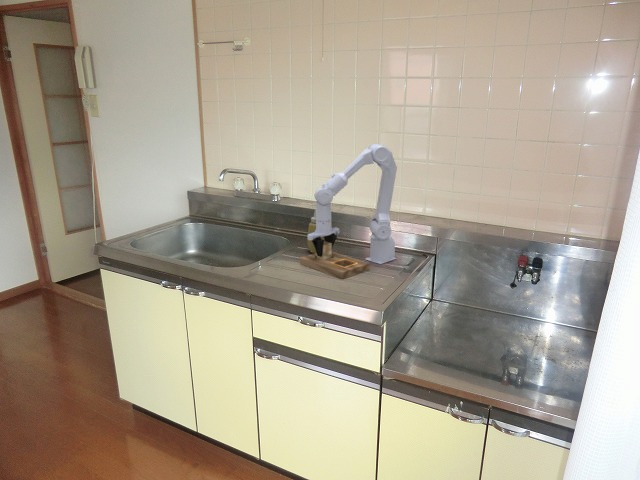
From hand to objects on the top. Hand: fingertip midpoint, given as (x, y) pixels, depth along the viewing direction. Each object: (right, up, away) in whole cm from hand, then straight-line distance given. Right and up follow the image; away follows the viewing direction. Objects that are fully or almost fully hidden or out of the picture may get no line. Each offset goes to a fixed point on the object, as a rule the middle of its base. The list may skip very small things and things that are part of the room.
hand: (324, 254), depth 180 cm
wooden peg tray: (+4, -4, -3) cm, 6 cm away
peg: (0, -3, +1) cm, 3 cm away
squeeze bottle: (-3, +1, +15) cm, 16 cm away
